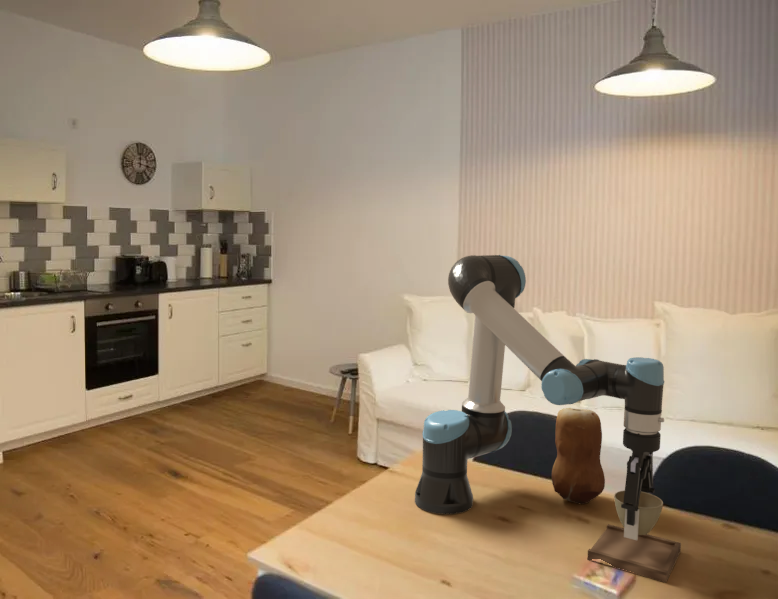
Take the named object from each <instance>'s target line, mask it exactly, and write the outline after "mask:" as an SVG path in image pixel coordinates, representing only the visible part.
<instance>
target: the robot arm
mask: <svg viewBox="0 0 778 599" xmlns="http://www.w3.org/2000/svg"><path fill="white" fill-rule="evenodd" d="M526 283H527V280H526V273H525V270H524V267H523V266H522V265H521V264H520V262H519V261H518V260H517V259H515V258H514V257H512V256H508V255H501V254H498V255H497V254H489V255H486V254H485V255H484V254H483V255H476V254H475V255H474V254H473V255H466V256H464V257H461V258H459V259H458V260H457V261H456V262H455V263H454V264H453V265H452V267H451V268H450V270H449V273H448V278H447V285H448V290H449V292H450V294H451V296H452V297H453V300H455V302H456V303H457V305H459V307H461V308H462V310H464V312H466V313H468V314H473V315H474V326H473V337H472V349H471V360H470V362H471V363H470V370H469V371H470V372H469V384H468V385H469V386H468V396H467V397H466V398H465V399H464V400H463V401H462V402H461V410H458V409H448V410H445V409H444V410H438V411H435V412H433V413H431V414H429V415H427V417H426V418H425V420H424V421H423V422H424V423H423V429H422V433H421V434H422V468H421V470H422V471H421V476H420V478H419V479H418V483H417V487H416V490H415V493H414V503H415V505H416V506H417V507H418V508H419V509H422V511H426V512H429V513H432V514H436V515H437V514H438V515H439V514H440V515H456V514H462V513H464V512H467V511H469V510H471V508H472V507H473V505H474V495H473V492H472V488H471V484H470V481H469V478H468V460H470V459H472V458H473V459H474V458H476V457H480V456H483V455H486V454H492V453H495V452H497V451H499V450H500V449H503V448H504V447H505V446H506V445H507V444H508V442H509V441H510V439H511V436H512V431H513V429H512V428H513V426H512V421H511V419H509V418H510V416H509V414H508V413H507V412H506V405H504V404H503V402H502V401H501V394H502V385H503V384H502V383H503V372H504V363H505V361H504V360H505V351H506V347H507V349H509V350H510V351H511V353H512V354H514V355H515V356H516V357H517V359H519V360H520V361H521V362H522V363H523V364H524V365H525V367H527V368H528V370H529V371H531V372H532V373H533V374H534V376H536V378H538V379H539V380H540V381H541V383H540V384H541V386H540V387H541V391H542V393H543V396H544V398H545V399H546V400H547V401H548V402H549V403H551V404H553V405H556V406H564V405H565V406H566V405H573V404H574V405H575V404H576V403H578V402H581V401H585V400H591V399H595V398H598V397H601V396H605V397H606V396H607V397H609V398H610V397H611V398H615V399H620V400H624V411H623V428H624V429H623V434H622V445H623V446H624V448H626V449H628V450H630V451H632V453H631V455H629V458H628V460H627V462H626V476H625V486H624V491H625V492H624V501H623V504H621V508H624V509H625V523H624V527H623V528H624V537H626V538H629V539H633V540H638V527H639V509H638V505H639V499H640V493H641V492H646V493H649V494H654V493H655V490H656V489H655V487H653V486H654V470H653V469H654V468H653V467H654V464H653V463H654V460H653V458H654V456H653V455H654V454H653V453H656V452H658V451H659V450H660V449H661V433H660V431H661V429H662V423H664V422H665V418H664V417H662V413H663V410H662V407H663V397H664V395H663V394H664V385H665V380H664V378H665V376H664V373H665V372H664V370H665V369H664V368H665V367H664V364H663V363H662V362H661V361H660V360H658V359H655V358H649V357H642V356H641V357H631V358H628V359H627V361H626V364H620V363H615V362H611V361H609V362H608V361H604V360H600V359H595V358H594V359H591V358H584V359H581V360H579V362H578V363H576V365H575V364H574V363H572V361H570V360H569V359H568V358H567V357H566V356H565V355H564V354H563V353H561V352H560V351H559V350H558V349H557V348H556V346H554V345H553V344H552V342H550V341H549V340H548V339H547V338H546V337H545V336H544V335H543V334H542V333H541V332H539V330H537V329H536V328H535V327H534V326H533V325H532V324H531V323H530V322H529V320H527V319H526V318H525V317H523V315H522V314H521V313H519V312H518V311H517V310H516V309H515V306H516V299H517V298H518V297H520V296H521V294H523V292H524V291H525V288H526ZM629 503H630V504H629Z"/></svg>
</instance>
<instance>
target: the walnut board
mask: <svg viewBox="0 0 778 599" xmlns="http://www.w3.org/2000/svg"><path fill="white" fill-rule="evenodd" d="M681 547H682V543H681V542H678V541H675V540H670V539H668V538H664V537H661V536H656V535H652V534H649V533H648V534H646V535H638V540H633V539H629V538H626V537H624V527H621V526H617V525H613V524H609V523H608V524H606V528H605V530H604V531H603V533H601V535H600V536H599V538H597V540H596V542H594V544H593V545H592V547H591V548H589V549H588V550H587V558H586V559H587V561H590V560H592V559H601V560H603V561H605V562H607V563H609V564H611V565H612V566H614V567H616V568H615V569H617V568H620V569H619V570H621V569H624V570H627V571H626V572H628V571H631V572H634V573H633V574H634V575H638V576H643V577H645V578H649V579H652V580H656V581H659V582H663V583H665V584H666V583H667V581H668V580H669V577H670V575H671V573H672V571H673V569H674V566H675V564H676V562H677V560H678V558H679V555H680V553H681ZM614 567H613V568H614ZM624 570H623V571H624ZM631 572H630V573H631Z"/></svg>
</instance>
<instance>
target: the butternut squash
mask: <svg viewBox="0 0 778 599" xmlns="http://www.w3.org/2000/svg"><path fill="white" fill-rule="evenodd" d="M555 421H556V422H555V431H554V432H555V434H554V435H555V439H554V440H555V442H554V443H555V447H556V452H557V453H556V454H557V455H556V458H555V461H554V463H553V465H552V469H551V482H552V483H551V484H552V486H553V490H554V492H555V493H556V494H558V495H559V496H560V497H561V498H562V499H563V500H566V501H568V502H571V503H576V504H580V505H584V504H587V503H589V502H591V501H593V500H594V499H596V498H597V497H599V495H601V494H602V492H603V491H604V490H605V485H606V478H605V477H606V476H605V472H604V469H603V466H602V464H601V452H602V450H601V449H602V442H603V430H602V423H601V419H600V416H599V414H597V413H596V412H595V411H594V410H592V409H588V408H587V409H586V408H585V409H584V408H571V407H565V408H561V409H559V410H558V412H557V415H556V420H555Z"/></svg>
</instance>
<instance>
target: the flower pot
mask: <svg viewBox="0 0 778 599" xmlns="http://www.w3.org/2000/svg"><path fill="white" fill-rule="evenodd" d="M624 492H625V490H620V491H617V492H615V493H614V494H613V496H614V497H613V498H614V499H613V500H614V505H615V509H616V510H615V511H616V513H617V516H618V519H619V521H620V524H621V525H622V528H624V523H625V509H624V508H621V504H623V501H624ZM649 493H650V492H648V493H646V492H641V493H640V499H639V505H638V509H639V527H638V535H646V534H648V535H649V533H650V532H651V531H652V529H653V528H655V525H656V524H657V523H658V521H659V518H660V516H661V513H662V510H663V507H664V502H663V499H661V498H660V497H659V496H656V495H655V494H653V493H650V494H649ZM629 504H630V503H629Z"/></svg>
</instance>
